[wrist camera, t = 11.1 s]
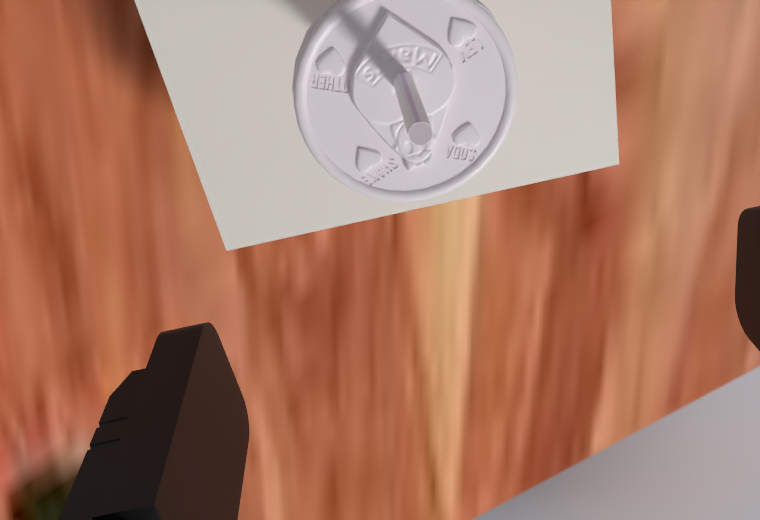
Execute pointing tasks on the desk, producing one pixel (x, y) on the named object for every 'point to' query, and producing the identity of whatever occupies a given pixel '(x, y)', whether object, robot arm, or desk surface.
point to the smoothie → (404, 94)
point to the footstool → (284, 141)
